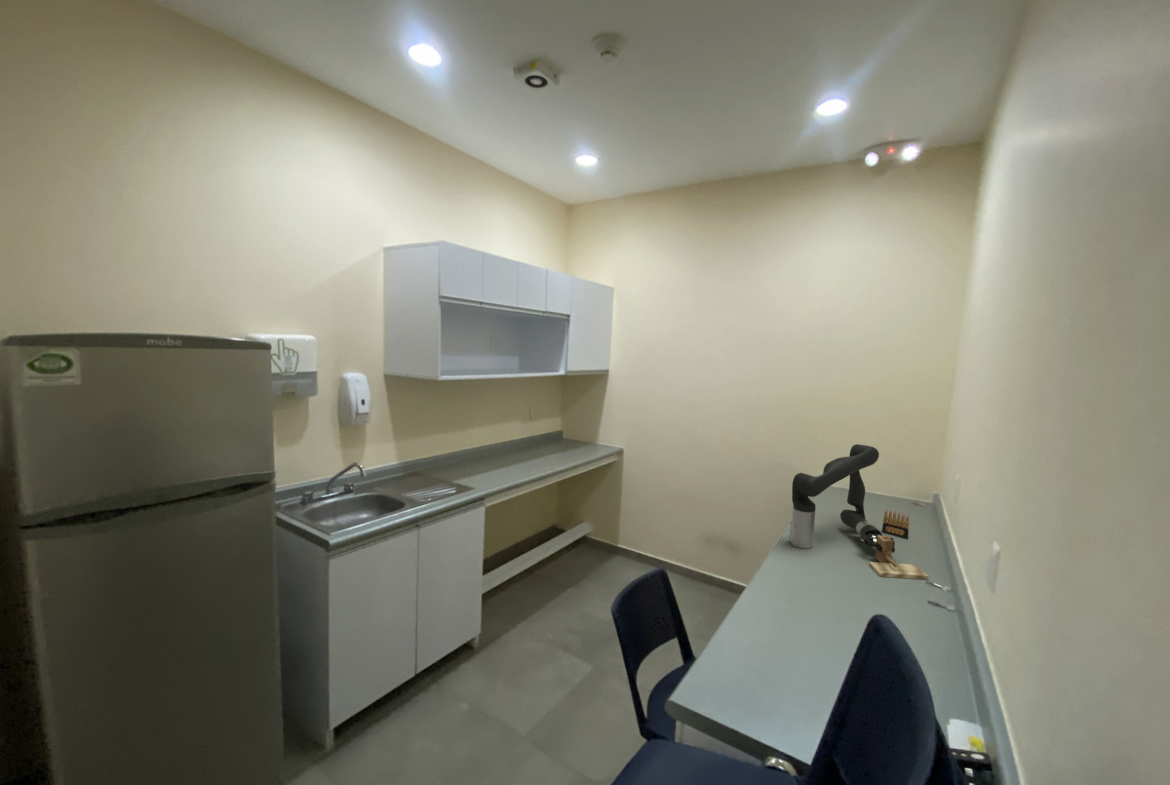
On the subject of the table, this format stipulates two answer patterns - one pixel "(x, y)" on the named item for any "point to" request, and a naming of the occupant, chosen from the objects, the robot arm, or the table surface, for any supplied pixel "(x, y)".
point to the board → (898, 570)
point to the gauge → (885, 550)
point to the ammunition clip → (896, 525)
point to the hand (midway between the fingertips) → (887, 550)
